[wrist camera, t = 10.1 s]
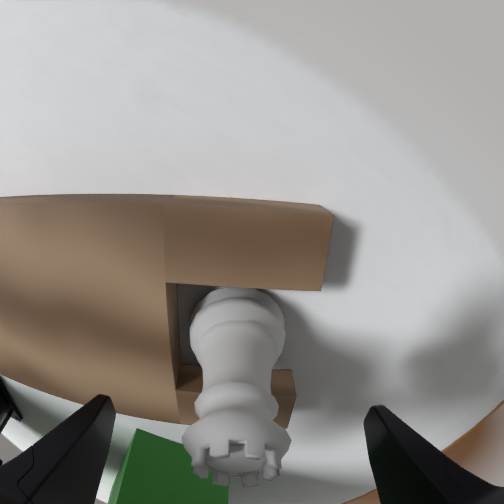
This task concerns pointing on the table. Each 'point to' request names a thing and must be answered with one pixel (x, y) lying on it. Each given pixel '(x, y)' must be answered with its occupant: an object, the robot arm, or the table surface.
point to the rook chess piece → (236, 387)
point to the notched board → (139, 289)
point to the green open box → (162, 475)
